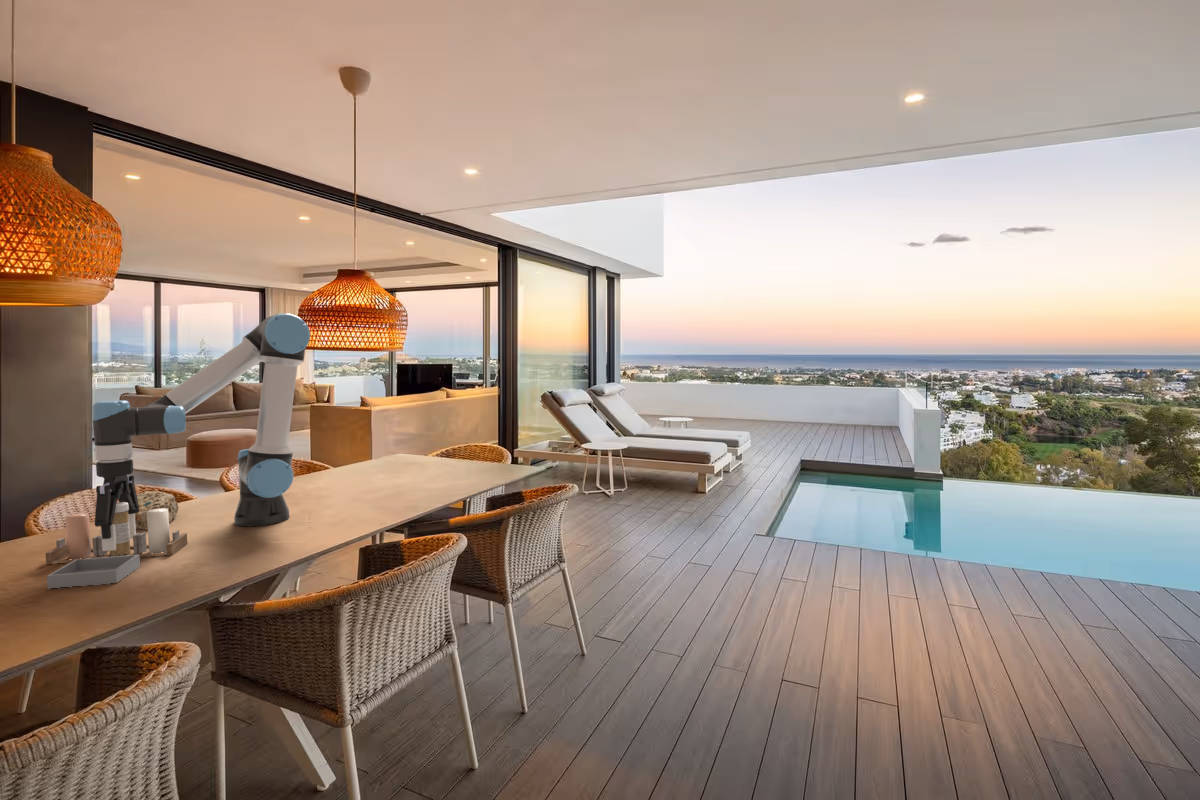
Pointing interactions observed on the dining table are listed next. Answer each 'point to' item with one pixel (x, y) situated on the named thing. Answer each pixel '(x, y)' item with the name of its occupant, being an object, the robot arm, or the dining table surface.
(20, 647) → the dining table surface
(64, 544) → the rack
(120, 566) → the tray
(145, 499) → the rock
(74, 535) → the pink cylinder
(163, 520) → the cream jar
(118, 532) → the sprinkles bottle
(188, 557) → the dining table surface
